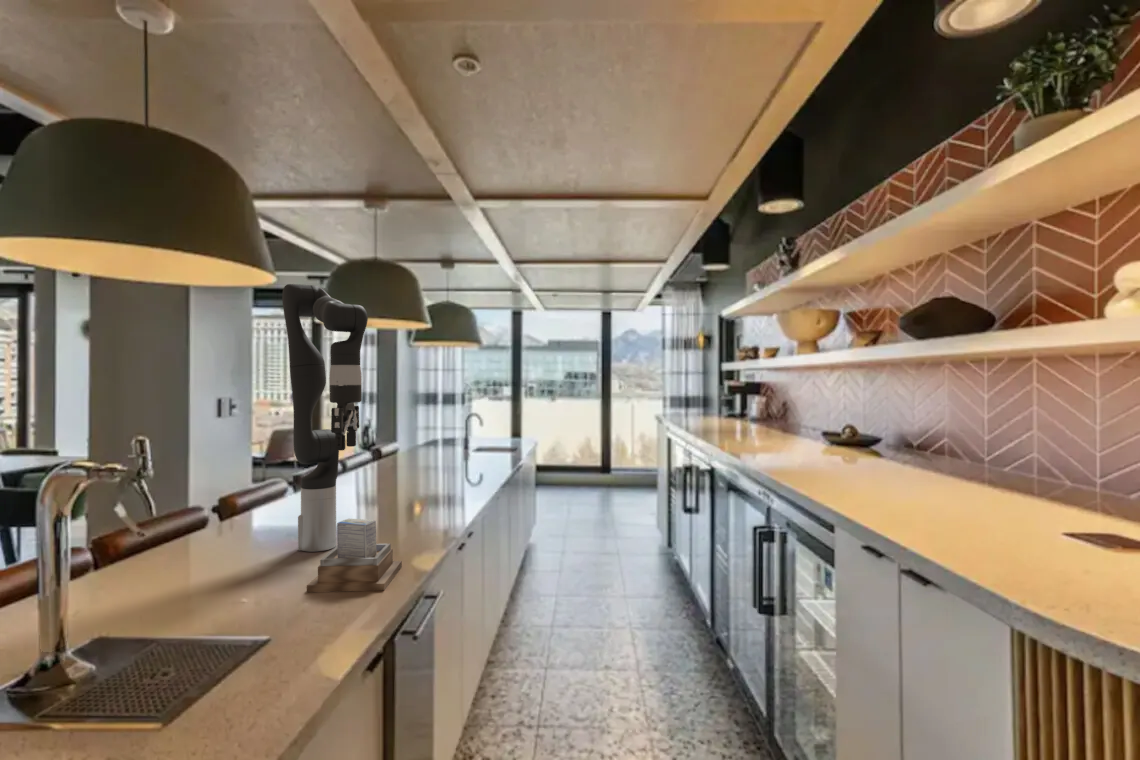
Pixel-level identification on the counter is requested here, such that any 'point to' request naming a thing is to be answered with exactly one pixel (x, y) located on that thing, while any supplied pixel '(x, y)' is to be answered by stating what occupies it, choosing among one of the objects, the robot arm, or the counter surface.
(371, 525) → the medicine box
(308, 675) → the counter surface
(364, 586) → the display stand
